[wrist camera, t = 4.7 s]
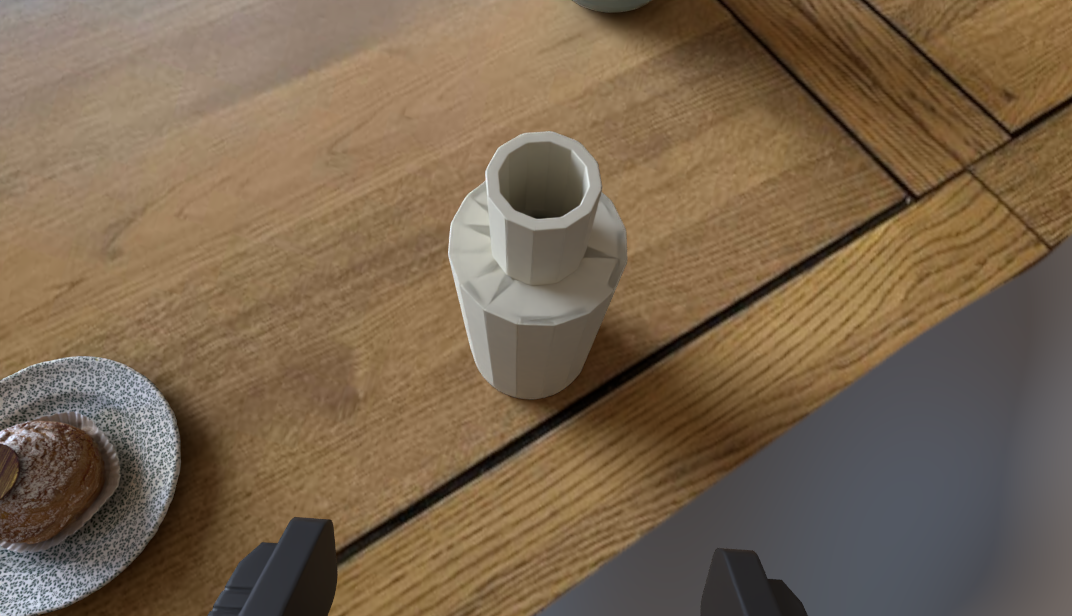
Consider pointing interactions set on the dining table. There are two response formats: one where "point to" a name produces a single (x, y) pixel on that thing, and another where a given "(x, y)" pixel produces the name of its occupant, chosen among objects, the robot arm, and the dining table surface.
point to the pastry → (79, 478)
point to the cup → (612, 5)
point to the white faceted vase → (536, 263)
